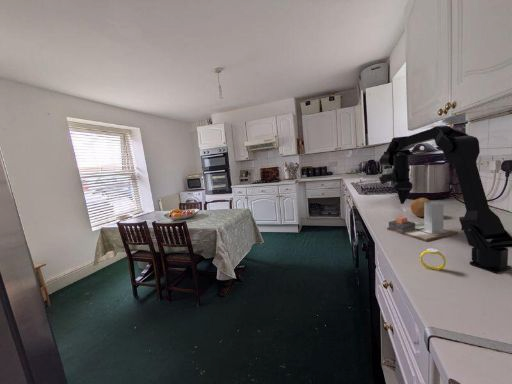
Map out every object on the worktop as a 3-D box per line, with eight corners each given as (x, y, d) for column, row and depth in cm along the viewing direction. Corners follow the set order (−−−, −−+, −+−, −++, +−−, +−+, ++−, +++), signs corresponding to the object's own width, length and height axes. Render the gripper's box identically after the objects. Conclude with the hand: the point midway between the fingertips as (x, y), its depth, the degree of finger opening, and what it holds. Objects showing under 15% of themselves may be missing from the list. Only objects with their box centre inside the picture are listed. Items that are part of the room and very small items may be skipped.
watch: (420, 269, 68) (419, 250, 67) (421, 265, 70) (419, 247, 70) (446, 272, 64) (444, 252, 64) (445, 268, 66) (444, 249, 66)
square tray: (457, 233, 90) (457, 224, 90) (425, 241, 86) (425, 232, 85) (415, 223, 107) (415, 215, 107) (387, 229, 103) (386, 221, 103)
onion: (425, 213, 121) (425, 195, 119) (438, 218, 111) (439, 198, 109) (406, 215, 122) (406, 197, 120) (418, 219, 112) (418, 200, 110)
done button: (407, 224, 98) (407, 217, 98) (401, 225, 97) (401, 218, 97) (401, 222, 101) (401, 216, 101) (396, 223, 100) (395, 217, 100)
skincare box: (443, 233, 90) (444, 204, 88) (431, 233, 91) (432, 205, 89) (434, 228, 96) (435, 201, 94) (423, 228, 97) (423, 202, 95)
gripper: (379, 166, 107) (380, 197, 110) (379, 169, 91) (380, 206, 94) (407, 164, 102) (407, 197, 104) (412, 167, 86) (412, 206, 88)
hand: (401, 201), depth 98 cm, fingers open, 8 cm apart
